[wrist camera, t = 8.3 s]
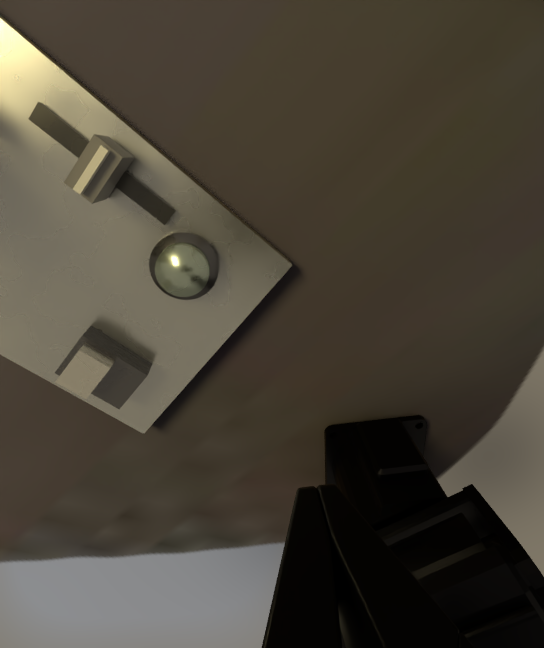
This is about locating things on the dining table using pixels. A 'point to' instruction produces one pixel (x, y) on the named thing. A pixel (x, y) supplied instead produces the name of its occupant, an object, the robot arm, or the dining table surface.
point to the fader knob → (98, 168)
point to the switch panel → (111, 251)
